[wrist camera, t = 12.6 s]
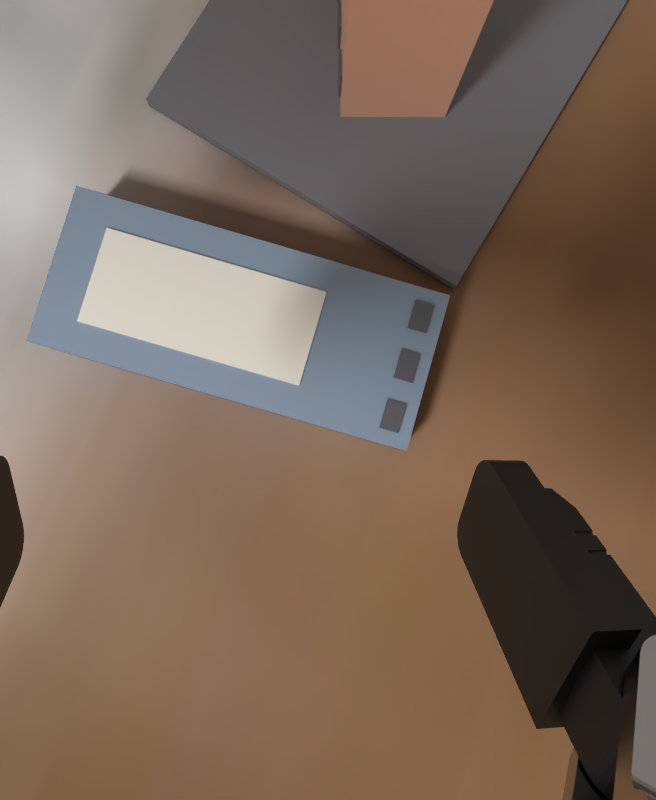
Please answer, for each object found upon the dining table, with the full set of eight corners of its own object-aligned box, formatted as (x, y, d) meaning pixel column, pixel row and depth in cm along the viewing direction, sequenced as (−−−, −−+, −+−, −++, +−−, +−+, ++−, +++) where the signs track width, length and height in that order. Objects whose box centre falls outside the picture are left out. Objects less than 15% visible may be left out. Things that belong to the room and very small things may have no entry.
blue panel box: (49, 347, 18) (25, 340, 17) (95, 205, 18) (75, 184, 17) (399, 449, 18) (407, 451, 17) (439, 306, 19) (450, 294, 17)
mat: (149, 106, 19) (145, 99, 18) (332, -177, 19) (333, -190, 19) (453, 289, 19) (456, 285, 18) (626, -1, 19) (633, -10, 19)
